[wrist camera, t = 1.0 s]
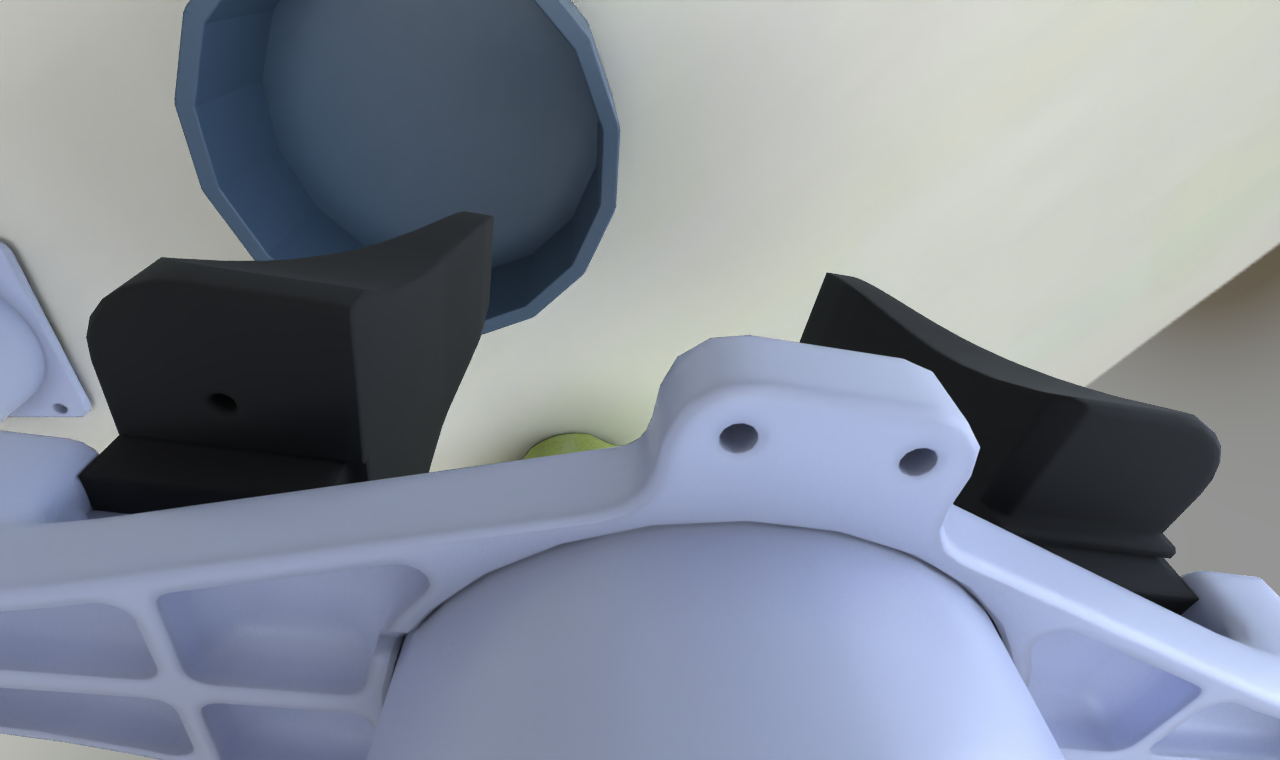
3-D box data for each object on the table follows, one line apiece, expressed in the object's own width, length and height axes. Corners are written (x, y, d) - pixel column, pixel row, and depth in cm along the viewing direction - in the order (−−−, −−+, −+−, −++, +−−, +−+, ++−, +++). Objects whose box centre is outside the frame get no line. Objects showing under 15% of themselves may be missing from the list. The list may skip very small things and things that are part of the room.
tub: (301, 271, 25) (247, 335, 21) (207, -111, 18) (99, -128, 14) (603, 281, 26) (608, 342, 22) (619, -71, 20) (631, -77, 15)
